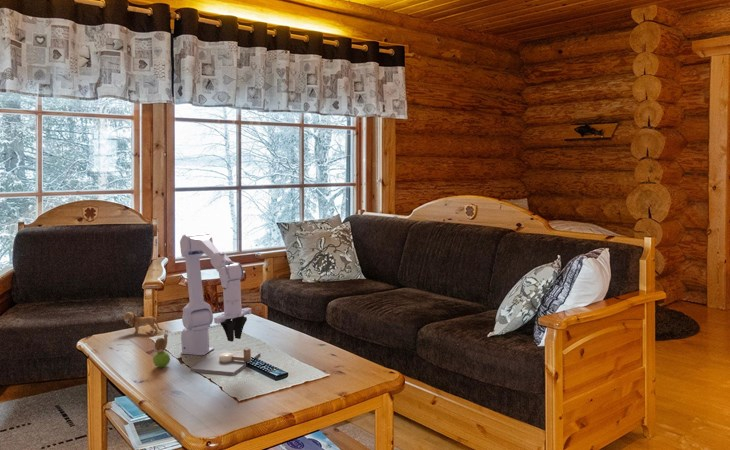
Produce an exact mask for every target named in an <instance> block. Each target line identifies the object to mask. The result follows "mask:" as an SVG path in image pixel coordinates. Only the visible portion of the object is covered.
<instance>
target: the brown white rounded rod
mask: <svg viewBox="0 0 730 450" xmlns="http://www.w3.org/2000/svg"><path fill="white" fill-rule="evenodd" d="M242 351H243V352H244V356H238V355H234V354H233V353H222V354H220V355H219V361H220V362H230V361H233V360H238V361H244V362H250V361H251V352H252V351H251V348H249V347H248V348H246V347H245V348H244V349H243V350H242Z"/></svg>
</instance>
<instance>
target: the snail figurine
mask: <svg viewBox="0 0 730 450" xmlns="http://www.w3.org/2000/svg"><path fill="white" fill-rule="evenodd" d="M168 331H169V330H168V329H167V330H166V329H164V332H165V333H164V334H163V337H158V338H157V339H156V340H155V342H154V348H155V350H156V351H155V352H156V353H155V354H154V355H153V357H152V358H153V359H152V361H153V364H154V365H155V366H156V368H165V367H167V366H168V365H169V363H170V361H171V358H170V357H171V356H170V354H169V353H168V352H166V351H165V350H166V349H167V346H168Z"/></svg>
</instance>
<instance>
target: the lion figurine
mask: <svg viewBox="0 0 730 450" xmlns="http://www.w3.org/2000/svg"><path fill="white" fill-rule="evenodd" d="M123 318H124V322H125V323H126V324H127V325H129V326H130V327H133V328H134V330H135V331H134V335H137V334H138V333H139V329H140V328H139V327H145V326H147V325H149V327H150V328H151V329H150V330H149V331H150V332H154V333H153V334H157V333H158V330H159V331H163V330H164V329H162V328H161V327H160V326H159V323H158V321H157V319H156V318H155V317H154V316H152V315H150V316H145V317H144V316H141V315H140V314H138V313H135V312H132V311H128V312H125V313H124V317H123ZM154 330H155V331H154Z"/></svg>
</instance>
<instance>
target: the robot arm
mask: <svg viewBox="0 0 730 450" xmlns="http://www.w3.org/2000/svg"><path fill="white" fill-rule="evenodd" d="M179 246H180V255H181V257H182V258H184V262H185V267H186V268H185V271H186V280H187V289H188V290H187V292H188V298H189V302H188V303H187V304H186V305H185V306H184V307H183V308H182V317H181V318H182V320H181V322H182V325H183V327H184V328H182V331H181V334H180V342H181V343H180V344H181V352H180V354H181V355H182V354H184V355H194V356H205V355H206V354H208V353H210V352H211V351H213V350H214V349H215V347H212V346H210V335H209V334H210V333H209V329H210V328H211V325H212V323H214V324H216V325H217V324H218V325H221V327H222V329H223V331H224V333H225V335H226V339H227V342H234V340H235V339H238V340H241V338H242V334H243V333H242V332H243V331H244V326H245V324H246V322H247V321H248V318H247V315H252V308H250V307H245V308H243V307H242V288H241V286H242V285H241V284H242V283H241V281H242V280H243V278H244V275H245V273H244V272H245V271H244V268H243V265H242V264H241V263H240V262H235V261H232V260H231V258H230V257H229V256H228V255H227V254H226V253H225V251H219V250H218V248H217V247H216V246H215V245H214V243H213V237H212V234H210V233H209V232H207V231H206V232H203V233H194V234H193V233H192V234H191V233H190V234H182V236H181V238H180V240H179ZM203 255H206V256H207V257H208V258H209V259H210V264H211V265H212V267H214V269H215V270H216V271H217V272H218V278H219V280H220V285H221V287H222V293H223V295H222V297H223V313H221V314H219V315H217V316H214V315H213V312H212V307H211V305H210V304H209V303H208V302H206V301H205V300H204V291H203V282H202V279H203V278H202V272H201V270H202V269H201V261H200V259H201V257H202V256H203Z"/></svg>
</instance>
